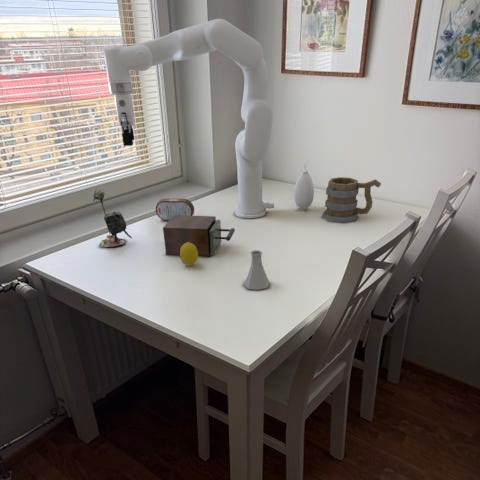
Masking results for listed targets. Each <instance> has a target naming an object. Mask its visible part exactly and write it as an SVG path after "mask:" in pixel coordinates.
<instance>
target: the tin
mask: <svg viewBox="0 0 480 480" xmlns="http://www.w3.org/2000/svg"><path fill="white" fill-rule="evenodd" d="M155 213H156V215H157V217H158V218H159V219H161V220H162V221H167V222H168V221H169V220H170V219H171V218H172V217H173V216H174V215H185V216H194V214H195V206H194V204H193V203H192V202H191V200H189V199H187V198H168V197H167V198H166V197H165V198H161V199H160V200H158V201H157V203H156V205H155Z"/></svg>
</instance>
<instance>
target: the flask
mask: <svg viewBox="0 0 480 480" xmlns="http://www.w3.org/2000/svg"><path fill="white" fill-rule="evenodd" d="M250 255H251V262H250V266H249V270H248V273H247V277H246V279H245V282H244V287H246V288H247V289H248V290H256V291H258V290H264V289H267V288H269V285H270V281H269V279H268V276H267V273H266V270H265V268H264V265H263V261H262V255H263V251H261V250H258V249H255V250H251V252H250Z"/></svg>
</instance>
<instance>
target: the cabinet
mask: <svg viewBox="0 0 480 480" xmlns="http://www.w3.org/2000/svg"><path fill="white" fill-rule="evenodd" d="M216 220H217V217H216V216H213V215H192V216H185V215H174V216H173V217H172V218H171V219H170V220H169V221H167V222H166V223H165V224H164V226H163V227H162V234H163V240H164V249H165V256H173V257H175V256H176V257H180V250H181V247H182V246H183V245H184V244H185V243H187V242H189V243H192V244H194V245H195V246H196V248H197V251H198V258H210V257H211V255H212V254H211V248H210V249H209V240H208V229H209V228H210V226H211V225H212V223H213V225H214V223H215V222H216Z"/></svg>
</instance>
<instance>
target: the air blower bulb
mask: <svg viewBox="0 0 480 480" xmlns="http://www.w3.org/2000/svg"><path fill="white" fill-rule="evenodd" d="M306 169H307V164H306V163H305V164H304V169H303V170H301V173H300V174H299V175H298V178H297V179H296V183H295V186H294V191H293V198H294V202H295V206H296V207H297V208H299V209H300V210H301V211H306V210H307V209H308V208H310V207H311V205H312V203H313V201H314V197H315V187H314V182H313V179H312V177H311V175H310V173H309V170H306Z"/></svg>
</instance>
